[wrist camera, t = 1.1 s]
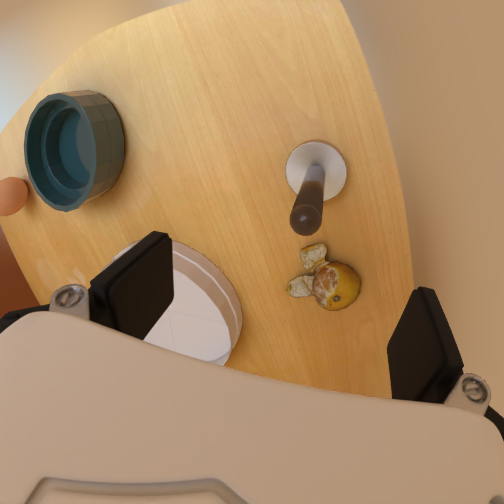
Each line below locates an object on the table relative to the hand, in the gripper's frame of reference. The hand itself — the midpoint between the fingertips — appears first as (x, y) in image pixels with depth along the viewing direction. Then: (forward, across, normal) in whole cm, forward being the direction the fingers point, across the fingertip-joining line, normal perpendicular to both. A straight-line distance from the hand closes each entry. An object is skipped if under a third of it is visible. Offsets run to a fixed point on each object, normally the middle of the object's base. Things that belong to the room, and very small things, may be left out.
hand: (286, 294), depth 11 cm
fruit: (+22, -3, +11) cm, 25 cm away
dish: (+23, +17, +22) cm, 36 cm away
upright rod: (+22, 0, -1) cm, 22 cm away
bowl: (+22, +31, -1) cm, 38 cm away
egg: (+22, +49, +7) cm, 54 cm away
